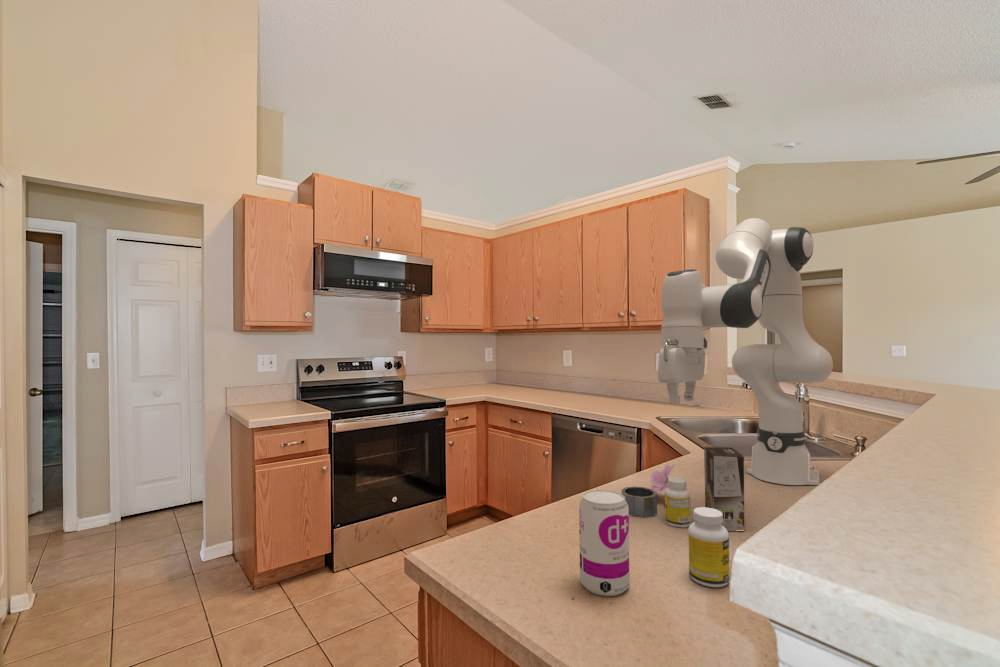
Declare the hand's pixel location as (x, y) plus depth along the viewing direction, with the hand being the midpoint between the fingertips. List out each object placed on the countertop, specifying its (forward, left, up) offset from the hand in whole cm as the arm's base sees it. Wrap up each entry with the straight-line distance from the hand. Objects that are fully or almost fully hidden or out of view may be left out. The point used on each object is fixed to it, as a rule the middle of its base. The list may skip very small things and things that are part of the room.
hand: (681, 402), depth 107 cm
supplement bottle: (+1, -1, -27) cm, 27 cm away
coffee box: (-6, +7, -27) cm, 29 cm away
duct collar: (0, -11, -27) cm, 29 cm away
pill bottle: (+21, +14, -27) cm, 37 cm away
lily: (-11, -11, -27) cm, 31 cm away
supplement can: (+35, +2, -27) cm, 45 cm away
